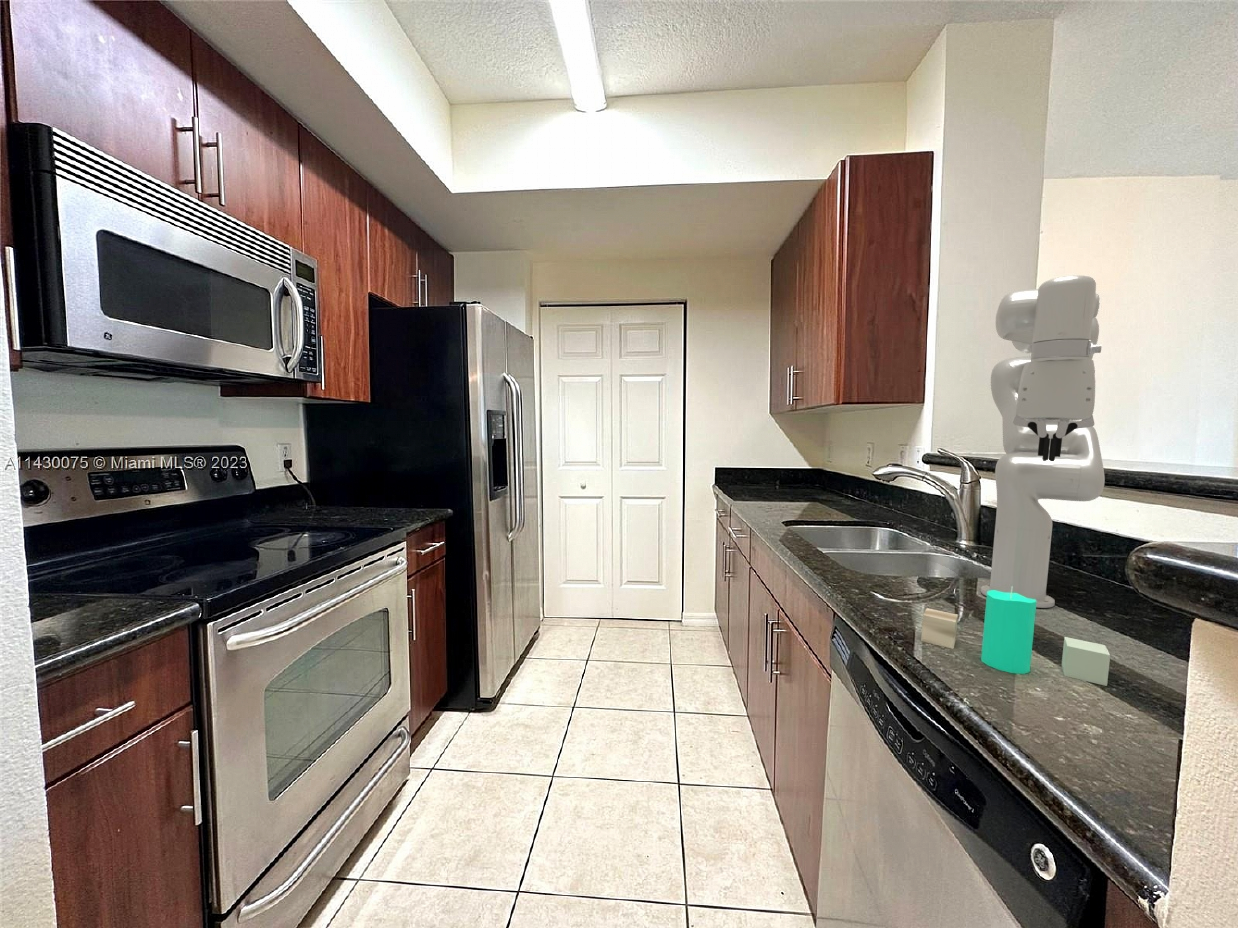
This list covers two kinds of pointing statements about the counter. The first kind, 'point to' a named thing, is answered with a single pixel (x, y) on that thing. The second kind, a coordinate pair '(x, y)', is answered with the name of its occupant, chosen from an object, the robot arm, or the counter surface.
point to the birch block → (939, 628)
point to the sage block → (1085, 661)
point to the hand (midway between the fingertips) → (1048, 460)
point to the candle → (1008, 631)
